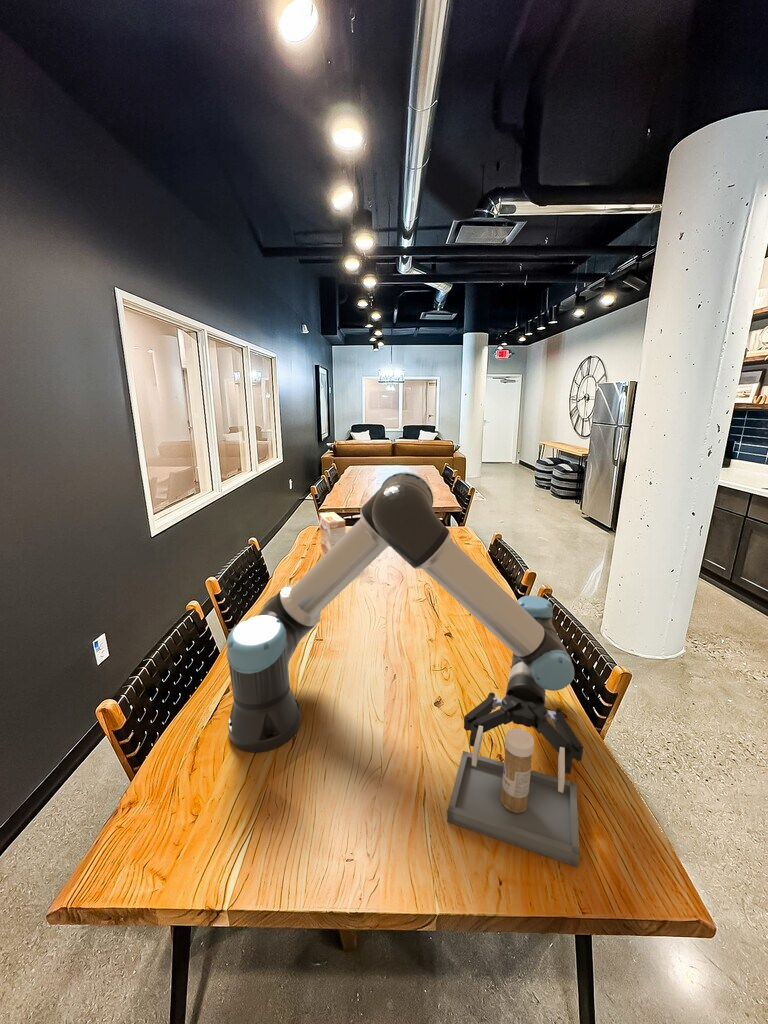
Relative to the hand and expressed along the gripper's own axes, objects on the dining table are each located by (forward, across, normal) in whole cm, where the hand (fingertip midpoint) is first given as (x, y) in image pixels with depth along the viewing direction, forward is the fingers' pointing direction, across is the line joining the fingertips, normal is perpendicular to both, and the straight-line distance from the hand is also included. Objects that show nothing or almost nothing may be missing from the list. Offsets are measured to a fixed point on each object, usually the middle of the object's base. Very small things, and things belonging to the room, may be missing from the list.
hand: (516, 772), depth 69 cm
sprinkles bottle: (-2, 0, -9) cm, 9 cm away
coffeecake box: (-92, +84, -10) cm, 125 cm away
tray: (-2, 0, -10) cm, 10 cm away
